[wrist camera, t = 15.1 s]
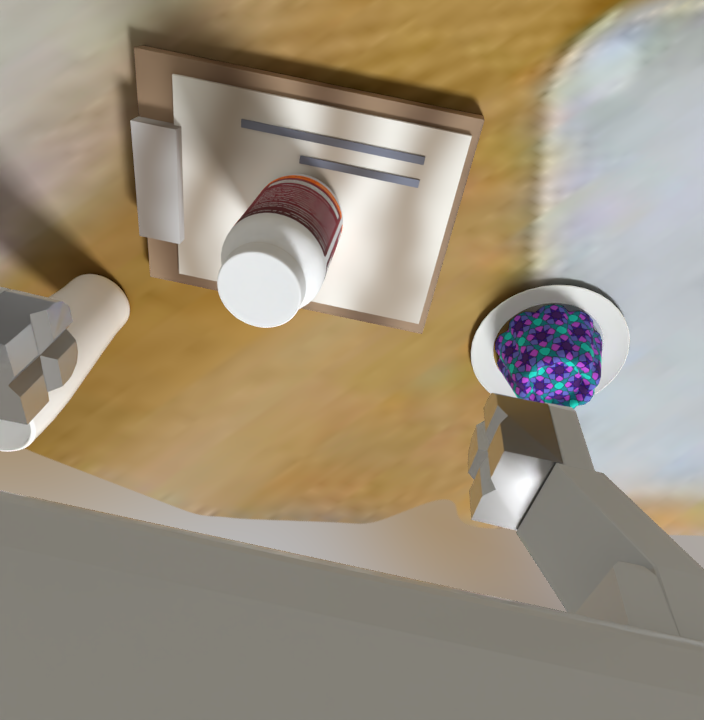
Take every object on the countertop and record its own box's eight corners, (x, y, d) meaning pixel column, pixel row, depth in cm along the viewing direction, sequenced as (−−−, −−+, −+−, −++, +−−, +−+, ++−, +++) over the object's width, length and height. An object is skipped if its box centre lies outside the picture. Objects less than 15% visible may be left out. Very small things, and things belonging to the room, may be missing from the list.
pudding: (661, 338, 41) (686, 379, 37) (544, 425, 48) (554, 468, 44) (548, 249, 39) (562, 283, 34) (440, 354, 45) (440, 393, 41)
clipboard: (483, 115, 34) (485, 124, 32) (422, 325, 43) (421, 342, 41) (142, 45, 34) (124, 49, 32) (156, 269, 43) (143, 283, 41)
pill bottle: (248, 175, 36) (187, 239, 27) (338, 166, 35) (304, 231, 26) (268, 259, 40) (219, 340, 31) (349, 254, 39) (323, 337, 30)
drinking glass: (47, 282, 46) (-94, 393, 34) (101, 249, 43) (-30, 357, 31) (103, 342, 49) (-8, 464, 37) (157, 315, 46) (57, 436, 34)
